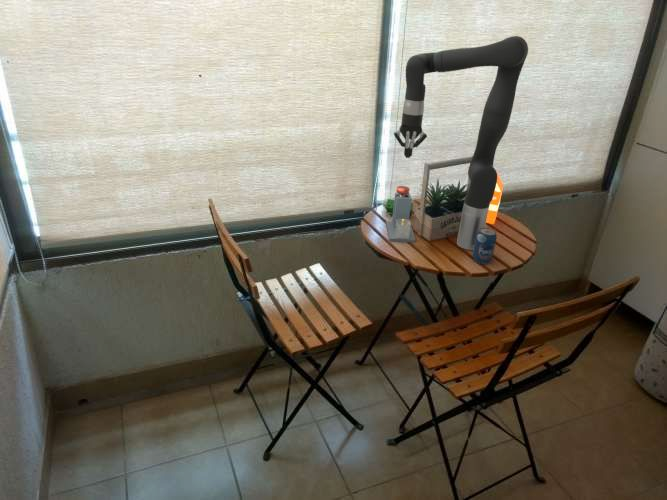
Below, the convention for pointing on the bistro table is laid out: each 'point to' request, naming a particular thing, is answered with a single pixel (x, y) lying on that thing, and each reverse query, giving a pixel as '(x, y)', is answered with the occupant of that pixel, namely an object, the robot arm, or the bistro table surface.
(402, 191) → the disc
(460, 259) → the bistro table surface
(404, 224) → the block
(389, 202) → the clamp
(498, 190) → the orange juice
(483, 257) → the soda can
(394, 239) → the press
